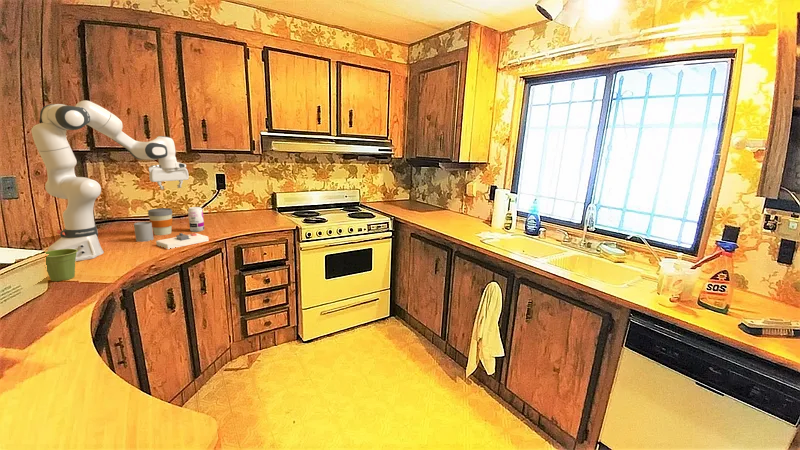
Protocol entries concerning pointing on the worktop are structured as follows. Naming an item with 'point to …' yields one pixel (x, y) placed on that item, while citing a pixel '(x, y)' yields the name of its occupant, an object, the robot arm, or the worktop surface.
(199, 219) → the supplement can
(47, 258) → the plant pot
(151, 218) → the reusable coffee cup
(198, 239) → the socket plate
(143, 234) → the cup
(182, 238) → the plug
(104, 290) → the worktop surface
